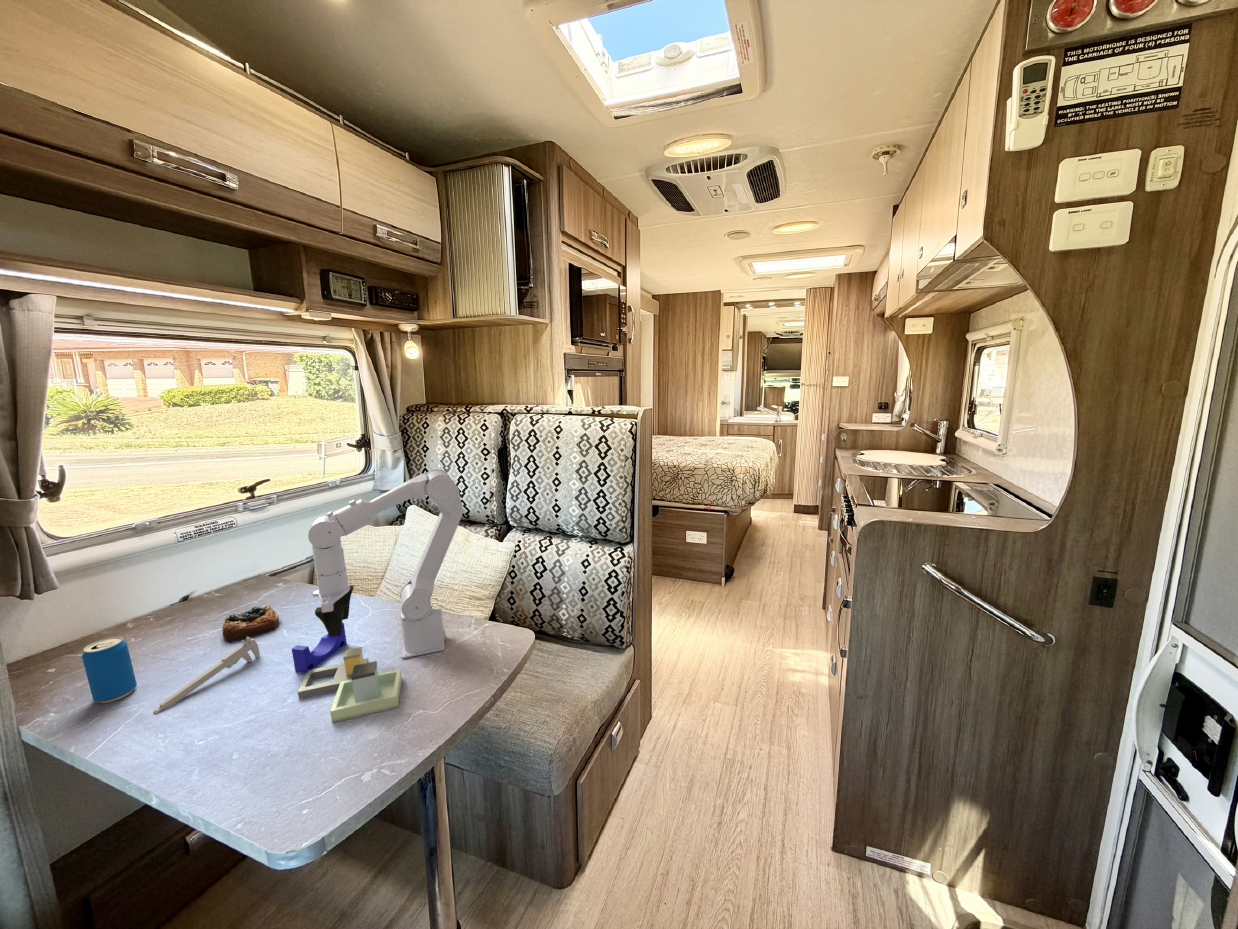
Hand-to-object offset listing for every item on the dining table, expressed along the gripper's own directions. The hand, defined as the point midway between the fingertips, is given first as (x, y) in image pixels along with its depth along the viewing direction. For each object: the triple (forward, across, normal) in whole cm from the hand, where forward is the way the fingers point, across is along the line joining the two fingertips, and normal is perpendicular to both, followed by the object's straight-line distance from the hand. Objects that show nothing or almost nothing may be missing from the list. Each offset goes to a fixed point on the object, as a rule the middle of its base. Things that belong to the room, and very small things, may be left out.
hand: (339, 627), depth 107 cm
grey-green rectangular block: (+9, +15, +7) cm, 19 cm away
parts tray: (+10, +15, +7) cm, 19 cm away
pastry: (+10, -29, -27) cm, 42 cm away
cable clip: (+10, -7, -7) cm, 14 cm away
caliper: (+10, -5, -27) cm, 29 cm away
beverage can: (+10, -7, -45) cm, 46 cm away
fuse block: (+10, +5, -1) cm, 11 cm away
